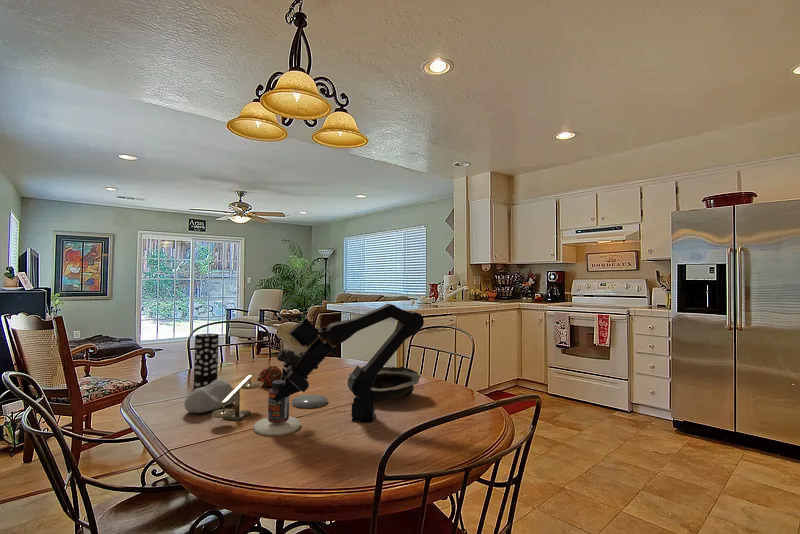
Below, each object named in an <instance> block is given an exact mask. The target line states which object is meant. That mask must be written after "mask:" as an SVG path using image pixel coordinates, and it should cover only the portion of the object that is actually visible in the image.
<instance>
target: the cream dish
mask: <svg viewBox="0 0 800 534" xmlns="http://www.w3.org/2000/svg"><path fill="white" fill-rule="evenodd" d="M301 425H302V424H301V420H300V419H299V418H297V417H294V416H289V419H288V420H287V421H286V422H283V423H271V422H269V421H268V417H266V418H262V419H260V420H258V421H256V422H255V423H254V425H253V431H254V432H255V433H256V434H259V435H263V436H266V437H267V436H270V437H272V436H273V437H274V436H275V437H276V436H283V435H288V434H292V433H294V432H297V431H298V430H299V429H301Z"/></svg>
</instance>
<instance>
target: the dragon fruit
mask: <svg viewBox="0 0 800 534" xmlns="http://www.w3.org/2000/svg"><path fill="white" fill-rule="evenodd" d="M281 377H282V371H281V369H280V368H279V367H278V366H277V365H276V366H275V365H269V366H268V367H267V368H264V369H262V370H261V372H260V373H259V375H258V377H257V379H256V380H257V382H258V383H260V382H261V383H263V386H264V387H267V388H268V387H271V388H272V382H273V381H276V380H280V379H281Z"/></svg>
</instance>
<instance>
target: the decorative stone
mask: <svg viewBox="0 0 800 534" xmlns="http://www.w3.org/2000/svg"><path fill="white" fill-rule="evenodd" d="M233 390H234V388H233V387H232V385H231V384H230V383H229V382H228V381H226V380H224V379H222V378H217V380H214V381H213V382H212V383H211V384H209V385H207V386H205V387H201V388H197V389H196V388H194V390H193V391H192V392H191V393H190V394H189V395H188V396H187V397H186V398H185V401H184V409H185V410H186V411H187V412H189V413H192V414H202V413H207V412H211V411H212V412H213V411H216V410H219V409H221V408H223V404H222V401H223V400H224V399H225V398H226V397H227V396H228V395H229V394H230V393H231V392H232V391H233ZM233 403H235V395H234V396H233V397H232V398H231V399H230V400H229V401H228V403H227V404H226V405H225V407H227V406H229V405H231V404H233Z"/></svg>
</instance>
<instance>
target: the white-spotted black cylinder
mask: <svg viewBox="0 0 800 534" xmlns="http://www.w3.org/2000/svg"><path fill="white" fill-rule="evenodd" d="M194 337H195V338H194V363H193V367H194V368H193V369H194V370H193V389H197V388H201V387H205V386H207V385H209V384H211V383H212V382H213V381H214V380H217V379H218V366H219V365H218V363H219V334H218V333H198V334H195V335H194Z"/></svg>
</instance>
